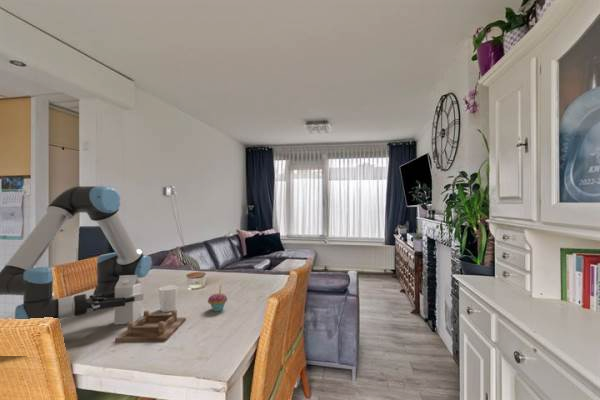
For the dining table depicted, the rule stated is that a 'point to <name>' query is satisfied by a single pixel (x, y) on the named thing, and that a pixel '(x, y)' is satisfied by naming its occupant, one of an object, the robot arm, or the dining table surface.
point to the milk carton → (131, 310)
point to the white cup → (168, 298)
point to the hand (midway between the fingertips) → (139, 293)
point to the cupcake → (217, 301)
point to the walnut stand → (152, 327)
